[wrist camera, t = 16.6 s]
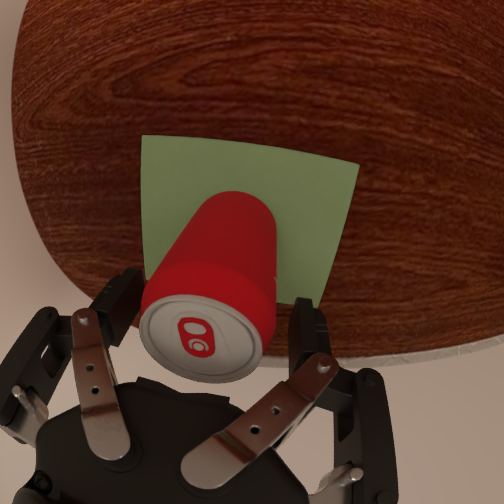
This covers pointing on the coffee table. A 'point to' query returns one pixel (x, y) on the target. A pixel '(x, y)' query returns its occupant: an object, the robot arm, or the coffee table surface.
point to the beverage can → (215, 292)
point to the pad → (254, 183)
